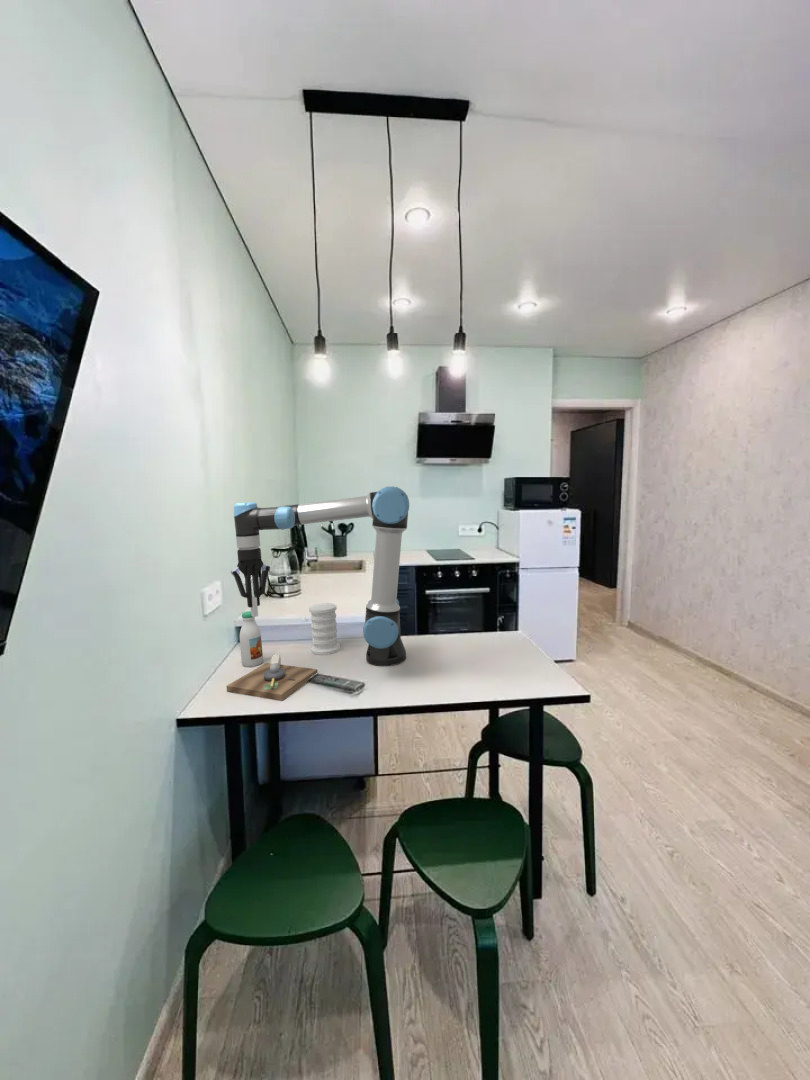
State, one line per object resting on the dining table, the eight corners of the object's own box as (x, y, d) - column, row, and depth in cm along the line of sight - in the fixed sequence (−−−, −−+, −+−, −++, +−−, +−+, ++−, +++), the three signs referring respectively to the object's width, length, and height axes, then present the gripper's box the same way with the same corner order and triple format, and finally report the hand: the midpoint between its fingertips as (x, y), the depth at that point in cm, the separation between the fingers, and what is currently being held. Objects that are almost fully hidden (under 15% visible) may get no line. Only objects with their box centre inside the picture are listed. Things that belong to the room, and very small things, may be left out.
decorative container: (337, 654, 172) (334, 610, 170) (308, 655, 172) (305, 611, 170) (342, 644, 183) (339, 602, 181) (314, 645, 183) (311, 603, 181)
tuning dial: (283, 686, 139) (282, 675, 139) (260, 689, 138) (259, 678, 137) (287, 662, 159) (286, 652, 159) (267, 664, 158) (266, 654, 157)
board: (317, 674, 153) (317, 668, 153) (281, 700, 135) (281, 694, 135) (267, 667, 162) (266, 662, 161) (226, 691, 143) (226, 685, 143)
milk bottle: (243, 669, 161) (238, 616, 159) (240, 662, 168) (236, 611, 166) (264, 664, 165) (260, 613, 163) (261, 658, 172) (257, 608, 169)
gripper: (263, 545, 155) (269, 609, 157) (225, 549, 147) (232, 617, 149) (271, 546, 149) (277, 613, 151) (232, 551, 141) (239, 622, 143)
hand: (254, 615), depth 150 cm, fingers closed
